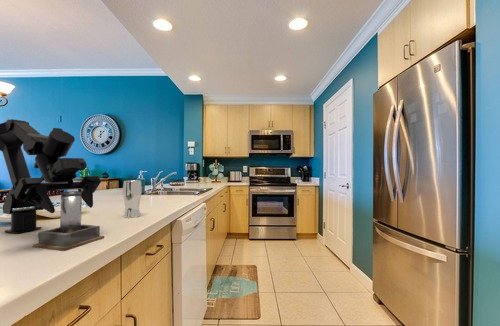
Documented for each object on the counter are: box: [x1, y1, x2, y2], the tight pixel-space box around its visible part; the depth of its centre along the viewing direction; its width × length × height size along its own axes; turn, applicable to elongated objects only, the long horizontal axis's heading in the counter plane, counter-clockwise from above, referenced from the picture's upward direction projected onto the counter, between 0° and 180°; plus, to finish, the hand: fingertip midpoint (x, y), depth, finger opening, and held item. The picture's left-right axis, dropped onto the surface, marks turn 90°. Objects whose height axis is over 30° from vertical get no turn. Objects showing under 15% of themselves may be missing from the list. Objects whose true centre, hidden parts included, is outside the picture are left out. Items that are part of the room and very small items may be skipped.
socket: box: [32, 223, 105, 252], centre depth 63 cm, size 11×11×4 cm
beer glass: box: [122, 179, 143, 219], centre depth 98 cm, size 7×7×15 cm
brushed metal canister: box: [59, 190, 83, 233], centre depth 63 cm, size 4×4×13 cm
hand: (73, 209), depth 63 cm, fingers open, 9 cm apart
